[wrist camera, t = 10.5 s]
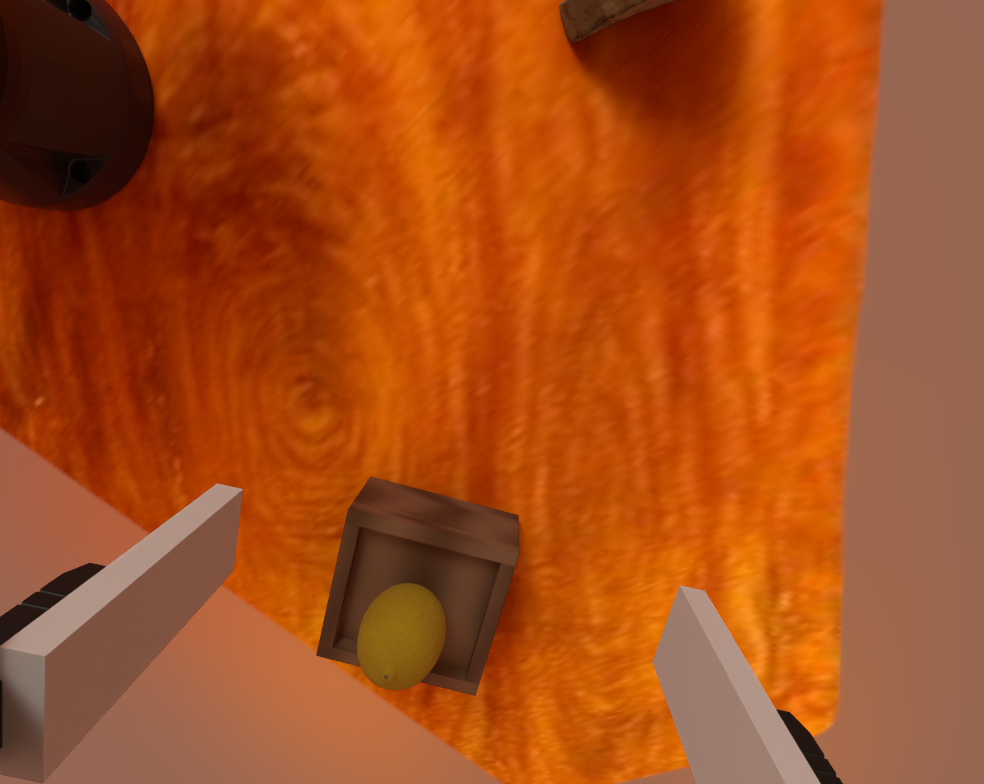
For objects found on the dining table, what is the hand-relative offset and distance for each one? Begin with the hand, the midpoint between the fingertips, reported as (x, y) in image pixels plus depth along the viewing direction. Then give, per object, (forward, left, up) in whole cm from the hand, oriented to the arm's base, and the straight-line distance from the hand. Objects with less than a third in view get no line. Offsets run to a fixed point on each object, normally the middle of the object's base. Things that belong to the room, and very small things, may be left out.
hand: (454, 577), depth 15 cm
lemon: (-3, -15, -20) cm, 25 cm away
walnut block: (-2, -15, -25) cm, 29 cm away
